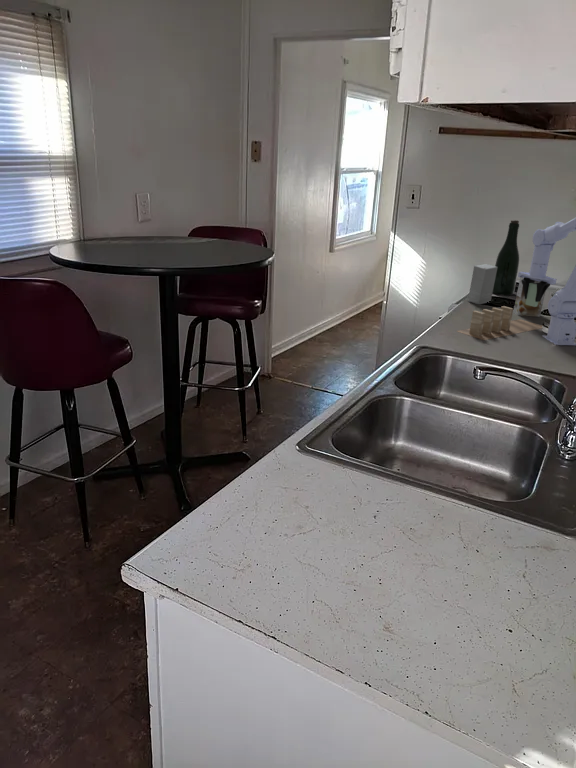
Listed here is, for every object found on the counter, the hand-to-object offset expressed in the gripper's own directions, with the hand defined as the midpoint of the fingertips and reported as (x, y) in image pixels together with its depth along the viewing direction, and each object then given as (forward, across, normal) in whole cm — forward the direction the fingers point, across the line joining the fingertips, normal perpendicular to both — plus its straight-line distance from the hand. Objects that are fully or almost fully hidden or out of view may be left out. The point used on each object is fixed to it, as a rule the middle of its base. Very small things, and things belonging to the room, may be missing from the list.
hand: (532, 300), depth 222 cm
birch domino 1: (+9, 0, +30) cm, 32 cm away
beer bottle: (+10, +41, -39) cm, 58 cm away
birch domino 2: (+9, 0, +25) cm, 27 cm away
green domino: (+2, 0, 0) cm, 2 cm away
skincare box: (+10, +34, -14) cm, 38 cm away
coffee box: (+10, +10, -14) cm, 20 cm away
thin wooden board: (+10, 0, +15) cm, 18 cm away
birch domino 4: (+9, 0, +14) cm, 17 cm away
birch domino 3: (+9, 0, +20) cm, 22 cm away
